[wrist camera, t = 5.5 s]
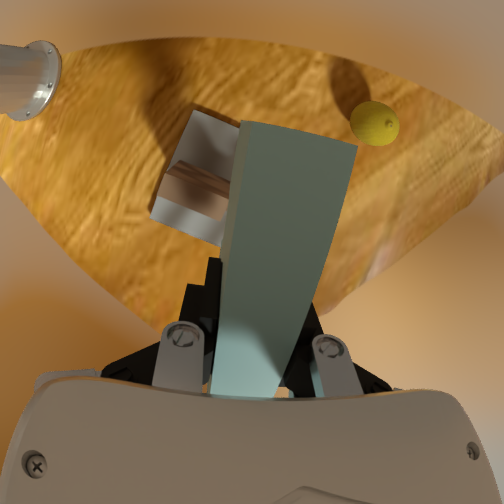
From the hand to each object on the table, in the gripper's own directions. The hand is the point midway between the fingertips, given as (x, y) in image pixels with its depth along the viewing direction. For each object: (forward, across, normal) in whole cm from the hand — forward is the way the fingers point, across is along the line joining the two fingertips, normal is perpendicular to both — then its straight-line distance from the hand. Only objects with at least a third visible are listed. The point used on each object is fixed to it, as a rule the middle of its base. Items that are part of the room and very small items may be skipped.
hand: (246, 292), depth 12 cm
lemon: (+25, -14, -11) cm, 30 cm away
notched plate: (+10, 0, 0) cm, 10 cm away
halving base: (+25, -1, +2) cm, 25 cm away
